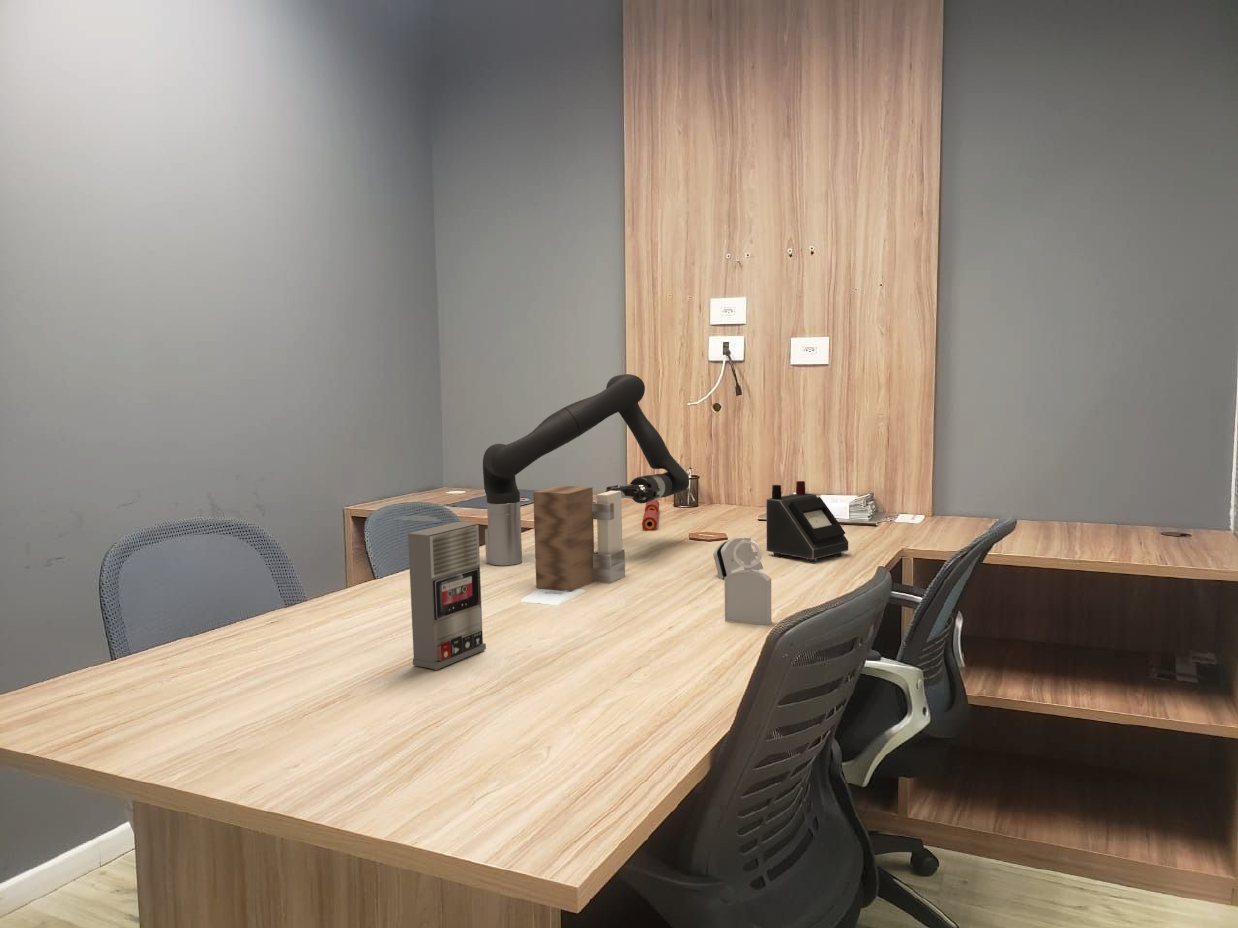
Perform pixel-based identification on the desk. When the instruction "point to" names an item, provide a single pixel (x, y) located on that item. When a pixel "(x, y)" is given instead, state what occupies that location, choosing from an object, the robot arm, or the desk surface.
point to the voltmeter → (802, 526)
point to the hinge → (731, 558)
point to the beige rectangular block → (610, 525)
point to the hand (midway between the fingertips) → (621, 495)
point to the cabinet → (571, 539)
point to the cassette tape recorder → (445, 594)
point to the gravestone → (748, 589)
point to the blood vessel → (651, 515)
